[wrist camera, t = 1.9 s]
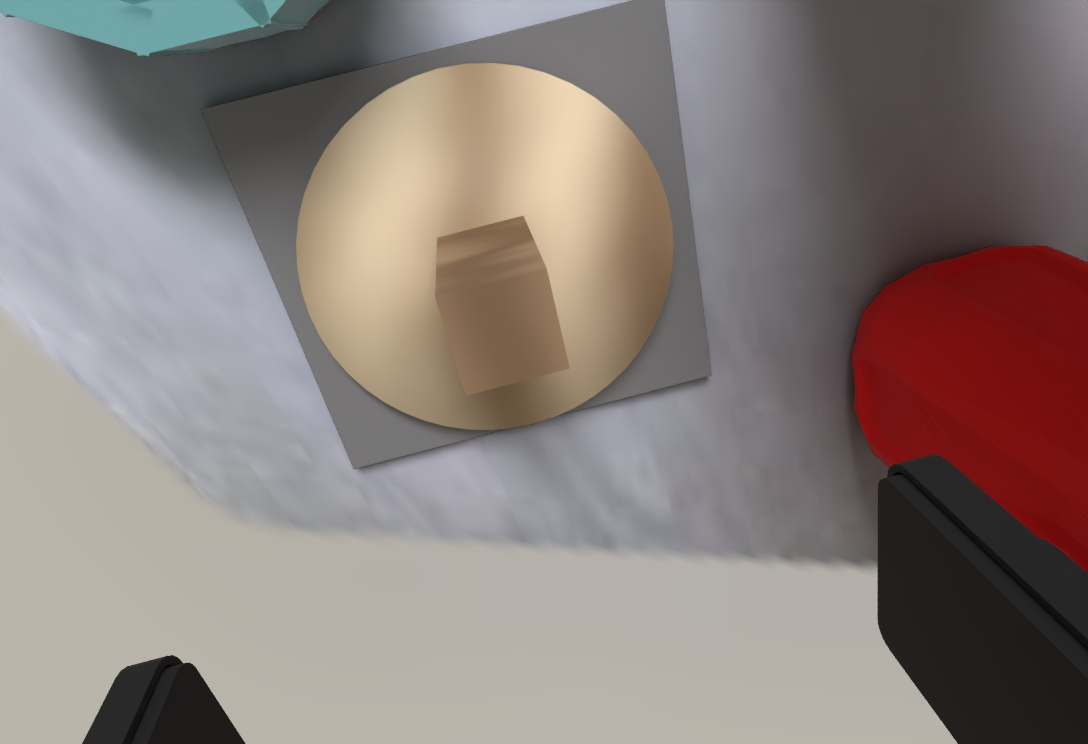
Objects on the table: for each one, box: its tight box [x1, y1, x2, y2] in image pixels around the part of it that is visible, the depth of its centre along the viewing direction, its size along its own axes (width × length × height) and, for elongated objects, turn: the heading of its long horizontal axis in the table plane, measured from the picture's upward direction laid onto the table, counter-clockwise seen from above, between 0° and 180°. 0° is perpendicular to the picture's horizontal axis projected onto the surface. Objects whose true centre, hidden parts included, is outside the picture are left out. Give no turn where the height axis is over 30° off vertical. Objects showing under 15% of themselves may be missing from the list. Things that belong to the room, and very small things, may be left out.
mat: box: [201, 0, 712, 469], centre depth 25 cm, size 15×14×1 cm
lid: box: [296, 62, 674, 430], centre depth 22 cm, size 13×13×7 cm
